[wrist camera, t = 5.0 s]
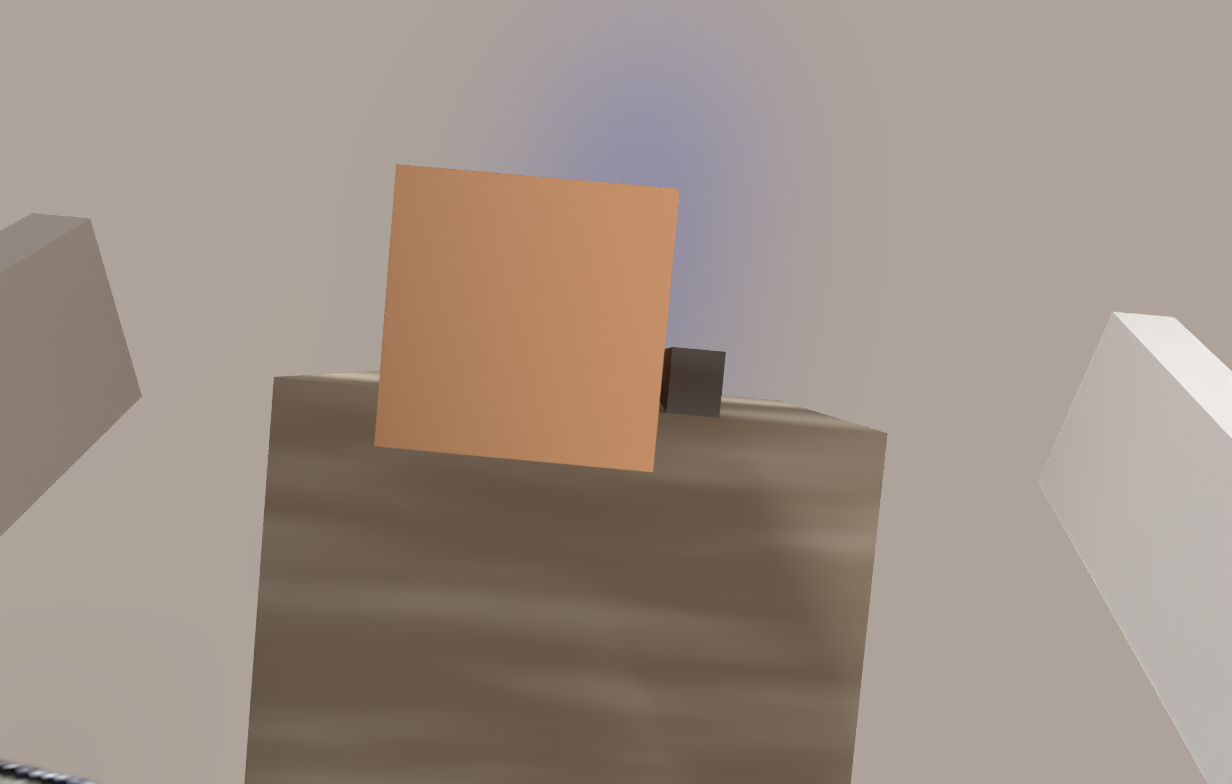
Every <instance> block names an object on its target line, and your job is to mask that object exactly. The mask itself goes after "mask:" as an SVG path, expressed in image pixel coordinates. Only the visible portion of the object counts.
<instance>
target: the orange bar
mask: <svg viewBox="0 0 1232 784" xmlns="http://www.w3.org/2000/svg"><path fill="white" fill-rule="evenodd" d="M678 199H679V189H673V188H661V187H648V186H638V185H627V184H616V183H604V182H592V181H581V180H570V179H558V178H546V177H535V176H524V175H512V174H500V173H489V172H477V171H466V170H455V169H444V168H432V167H421V166H409V165H398V164H396V173H395V186H394V199H393V212H392V224H391V237H390V250H389V262H388V263H389V264H388V275H387V288H386V301H385V314H384V327H383V339H382V340H383V341H382V354H381V365H380V378H379V390H378V403H377V416H376V429H375V442H374V446H377V447H387V448H398V449H409V450H420V451H430V452H441V453H452V454H463V455H473V456H484V457H495V458H506V459H516V460H527V461H538V462H548V463H559V464H570V465H581V466H591V467H602V468H613V469H624V470H634V471H645V472H653V468H654V457H655V447H656V436H657V425H658V414H659V404H660V393H661V382H662V371H663V361H664V350H665V339H666V328H667V317H668V307H669V296H670V285H671V275H672V263H673V253H674V242H675V231H676V221H677V209H678Z"/></svg>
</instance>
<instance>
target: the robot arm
mask: <svg viewBox="0 0 1232 784" xmlns="http://www.w3.org/2000/svg"><path fill="white" fill-rule="evenodd" d="M141 397H142V395H141V392H140V388H139V385H138V382H137V378H136V375H135V371H134V368H133V364H132V361H131V358H130V354H129V351H128V347H127V344H126V340H125V337H124V334H123V330H122V327H121V323H120V320H119V316H118V313H117V309H116V306H115V303H114V299H113V296H112V293H111V289H110V286H109V282H108V279H107V275H106V272H105V268H104V265H103V261H102V258H101V255H100V251H99V248H98V244H97V241H96V237H95V234H94V230H93V227H92V224H91V221H90V219H87V218H77V217H66V216H54V215H44V214H33V213H32V214H30V215H28V216H27V217H25V218H23V219H21V220H19V221H17V222H16V223H14V224H12V225H10V226H8V227H6V228H5V229H3V230H1V231H0V536H1V535H2V534H3V533H4V532H5V531H6V530H7V529H8V528H9V527H10V526H11V525H12V524H13V523H14V522H15V521H16V520H17V519H18V518H19V517H20V516H22V515H23V514H24V512H26V511H27V510H28V509H29V508H30V507H31V506H32V505H33V504H34V503H35V502H36V501H37V500H38V498H40V497H41V496H42V495H43V494H44V492H46V491H47V490H48V489H49V488H50V487H51V486H52V485H53V484H54V483H55V482H56V481H57V480H58V479H59V478H60V477H61V476H62V475H63V474H64V473H65V472H66V471H67V470H68V469H69V468H70V467H71V466H72V465H73V464H74V463H75V462H76V461H77V460H78V459H79V458H80V457H81V456H82V455H83V454H84V453H85V452H86V451H87V450H88V449H89V448H90V447H91V446H92V445H93V444H94V443H95V442H96V441H97V440H98V439H99V438H100V437H101V436H102V435H103V434H104V433H105V432H106V431H107V430H108V429H109V428H110V427H111V426H112V425H113V424H114V423H115V422H116V421H117V420H118V419H119V418H120V417H121V416H122V415H123V414H124V413H125V412H126V411H127V410H128V409H129V408H130V407H131V406H132V405H133V404H134V403H135V402H136V401H138V399H139V398H141ZM1038 483H1039V485H1040V487H1041V489H1042V490H1043V492H1044V494H1045V496H1046V498H1047V499H1048V501H1049V503H1050V504H1051V506H1052V508H1053V510H1054V511H1055V514H1056V515H1057V517H1058V519H1059V521H1060V522H1061V524H1062V526H1063V528H1064V529H1065V531H1066V533H1067V535H1068V536H1069V538H1070V540H1071V542H1072V544H1073V545H1074V547H1075V549H1076V551H1077V552H1078V554H1079V556H1080V558H1081V560H1082V561H1083V563H1084V565H1085V567H1086V569H1087V570H1088V572H1089V574H1090V576H1091V577H1092V579H1093V581H1094V583H1095V585H1096V586H1097V588H1098V590H1099V592H1100V593H1101V595H1102V597H1103V599H1104V600H1105V602H1106V604H1107V606H1108V608H1109V609H1110V611H1111V613H1112V615H1113V616H1114V618H1115V620H1116V622H1117V624H1118V625H1119V627H1120V629H1121V630H1122V632H1123V634H1124V636H1125V638H1126V640H1127V641H1128V643H1129V645H1130V647H1131V648H1132V650H1133V652H1134V654H1135V656H1136V657H1137V659H1138V661H1139V663H1140V664H1141V666H1142V668H1143V670H1144V671H1145V673H1146V675H1147V677H1148V679H1149V680H1150V682H1151V684H1152V686H1153V687H1154V689H1155V691H1156V693H1157V694H1158V696H1159V698H1160V700H1161V702H1162V703H1163V705H1164V707H1165V709H1166V710H1167V712H1168V714H1169V716H1170V717H1171V719H1172V721H1173V723H1174V725H1175V726H1176V728H1177V730H1178V732H1179V733H1180V735H1181V737H1182V739H1183V741H1184V743H1185V744H1186V746H1187V748H1188V749H1189V751H1190V753H1191V755H1192V756H1193V758H1194V760H1195V762H1196V764H1197V765H1198V767H1199V769H1200V771H1201V773H1202V774H1203V776H1204V778H1205V780H1206V781H1207V783H1208V784H1232V371H1231V370H1230V369H1228V368H1227V367H1226V366H1225V365H1224V364H1223V363H1222V362H1221V361H1220V360H1219V359H1218V358H1217V357H1216V356H1215V355H1214V354H1213V353H1211V352H1210V351H1209V350H1208V349H1207V348H1206V347H1205V346H1204V345H1203V344H1202V343H1201V342H1200V341H1199V340H1198V339H1197V338H1196V337H1194V336H1193V335H1192V334H1191V333H1190V332H1189V331H1188V330H1187V329H1186V328H1185V327H1184V326H1183V325H1182V324H1181V323H1180V322H1179V321H1177V320H1176V319H1175V318H1174V317H1164V316H1153V315H1142V314H1131V313H1120V312H1112V315H1111V317H1110V319H1109V321H1108V324H1107V326H1106V329H1105V331H1104V333H1103V335H1102V337H1101V340H1100V342H1099V344H1098V347H1097V349H1096V351H1095V353H1094V356H1093V358H1092V360H1091V362H1090V365H1089V367H1088V369H1087V372H1086V374H1085V376H1084V378H1083V381H1082V383H1081V385H1080V387H1079V390H1078V392H1077V394H1076V397H1075V399H1074V401H1073V403H1072V406H1071V408H1070V410H1069V412H1068V415H1067V417H1066V419H1065V422H1064V424H1063V426H1062V429H1061V431H1060V433H1059V435H1058V438H1057V440H1056V442H1055V445H1054V447H1053V449H1052V451H1051V453H1050V456H1049V458H1048V460H1047V463H1046V465H1045V467H1044V469H1043V472H1042V474H1041V476H1040V479H1039V481H1038Z"/></svg>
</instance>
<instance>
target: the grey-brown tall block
mask: <svg viewBox="0 0 1232 784" xmlns="http://www.w3.org/2000/svg"><path fill="white" fill-rule="evenodd" d="M725 354H726V352H720V351H709V350H698V349H687V348H676V347H671V348H667V349H665V350H664V361H663V371H662V382H661V393H660V404H659V414H658V425H657V436H656V447H655V457H654V468H653V472H645V471H634V470H624V469H613V468H602V467H591V466H581V465H570V464H559V463H548V462H538V461H527V460H516V459H506V458H495V457H484V456H473V455H463V454H452V453H441V452H430V451H420V450H409V449H398V448H387V447H377V446H374V442H375V429H376V416H377V403H378V390H379V378H380V371H374V372H356V373H339V374H320V375H302V376H286V377H274V385H273V400H272V412H271V426H270V440H269V454H268V468H267V481H266V495H265V509H264V523H263V538H262V550H261V564H260V579H259V593H258V606H257V619H256V633H255V647H254V662H253V675H252V688H251V702H250V717H249V730H248V744H247V757H246V771H245V784H850V782H851V773H852V764H853V753H854V745H855V735H856V726H857V716H858V707H859V697H860V688H861V678H862V668H863V658H864V649H865V640H866V631H867V621H868V611H869V602H870V593H871V583H872V573H873V564H874V554H875V544H876V536H877V526H878V517H879V507H880V498H881V488H882V479H883V470H884V460H885V450H886V440H887V433H884V432H881V431H878V430H874V429H871V428H868V427H864V426H861V425H858V424H854V423H851V422H848V421H844V420H841V419H838V418H835V417H831V416H828V415H824V414H821V413H818V412H815V411H811V410H808V409H805V408H801V407H798V406H795V405H792V404H788V403H785V402H782V401H776V400H765V399H755V398H744V397H733V396H722V385H723V375H724V364H725Z"/></svg>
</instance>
